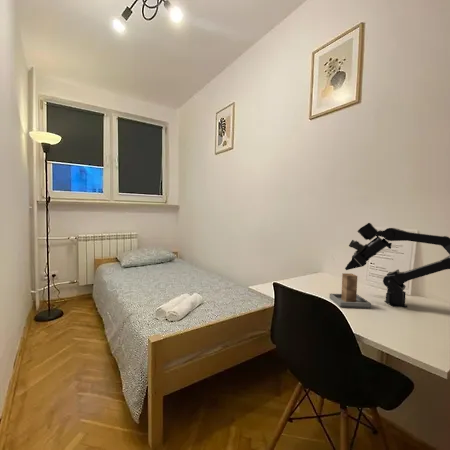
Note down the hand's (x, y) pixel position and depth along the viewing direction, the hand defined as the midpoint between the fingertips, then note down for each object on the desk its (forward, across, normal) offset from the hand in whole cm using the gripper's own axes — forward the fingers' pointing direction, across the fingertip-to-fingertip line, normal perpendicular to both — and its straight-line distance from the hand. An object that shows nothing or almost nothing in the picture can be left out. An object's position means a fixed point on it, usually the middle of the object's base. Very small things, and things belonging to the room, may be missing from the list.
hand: (346, 267), depth 125 cm
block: (+7, +12, +11) cm, 18 cm away
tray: (+8, +12, +12) cm, 19 cm away
